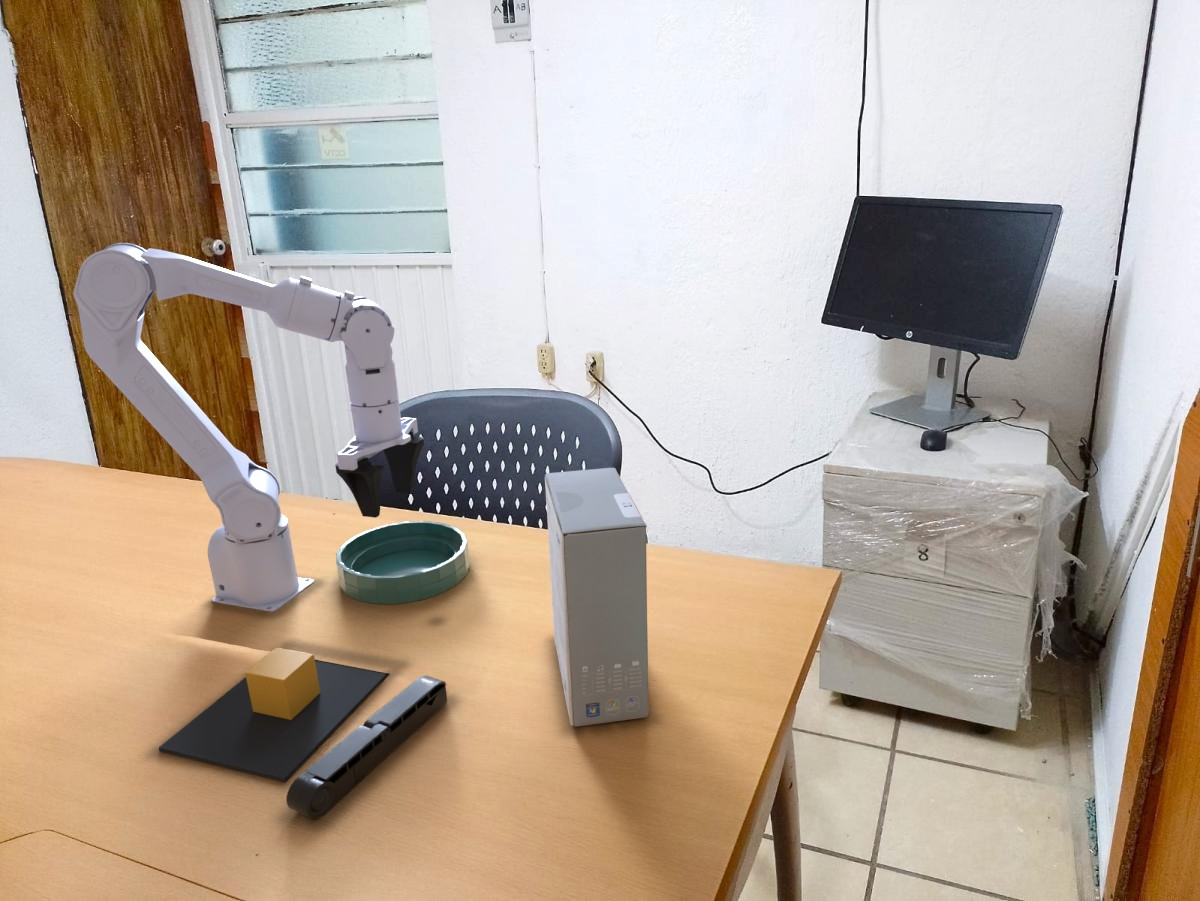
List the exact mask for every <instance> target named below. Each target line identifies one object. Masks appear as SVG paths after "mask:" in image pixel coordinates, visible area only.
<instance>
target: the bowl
mask: <svg viewBox="0 0 1200 901" xmlns="http://www.w3.org/2000/svg"><path fill="white" fill-rule="evenodd" d="M468 543H469V542H468V538H467V536H466V534H465V533H464V532H463V531H462V530H460V529H459V528H458V527H456V526H453V525H450V524H447V523H444V522H438V521H430V520H411V521H410V520H409V521H400V522H394V523H388V524H385V525H381V526H377V527H374V528H370V529H368V530H365V531H363V532H361V533H358V534H356V535H354V536H353V537H351V538H350V539H348V540H347V541H345V543H343V544H342V545H341V546H340V548H339V549H338V550H337V552H336V555H335V562H336V570H337V575H338V581H339V582H338V583H339V587H340V589H341V590H342V591H343V592H344V594H345V595H346V596H348V597H350V598H353V599H354V600H357V601H358V602H363V603H370V604H377V605H401V604H406V603H407V604H408V603H413V602H417V601H423V600H425V599H428V598H429V599H430V598H431V597H434V596H438V595H440V594H443V593H445V592H446V591H448V590H450V589H452V588H453V587H455V586H457V585H458V584H459V583H461V581H462V580H463V579H464V578H466V576H467V575H468V572H469V569H470V566H471V563H470V556H469V555H470V553H469V544H468Z"/></svg>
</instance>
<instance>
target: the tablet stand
mask: <svg viewBox="0 0 1200 901" xmlns="http://www.w3.org/2000/svg"><path fill="white" fill-rule="evenodd" d="M446 686H447V683H446V681H444V680H441V679H438V678H434V677H432V676H429V675H421V676H419V677H417V678H416V679H415V680H413V681H412V682H411V683H410V684H409V685H408V686H407V687H405V688H404V689H403V690H401V691H400V692H399V693H398V694H396V695H395V696H394V697H393V698H391V699H390V700H389V701H387V703H386V704H384V705H383V706H382V707H381V708H379V709H378V710H377V711H376V712H375V713H373V714H372V715H371V716H370V717H368V718H367V719H366V720H365V721H364V722H363V725H362V724H361V725H359V726H358V727H357V728H355V729H353V731H351V732H350V733H349V734H348V735H346V736H345V737H344V738H343V739H342V740H341V741H339V742H338V743H337V744H336V745H334V746H333V747H332V748H331V749H330V750H329V751H327V752H326V753H325V754H324V755H323V756H321V757H320V758H319V759H318V760H317V761H316V762H314V763H313V764H312V765H311V766H309V767H308V768H307V769H306V770H305V771H303V772H302V773H301V774H300V775H298V776H297V777H296V778H295V779H294V780H293V782H292V783H291V785H290V786H289V788H288V791H287V793H286V799H285V800H286V805H287V807H288V808H289V809H290V810H292V811H294V812H296V813H298V814H301V815H303V816H305V817H307V818H309V819H312V820H319V819H321V818H323V817H325V815H326V814H327V813H328V812H329V811H330V810H331V809H332V808H333V807H334V806H336V805H337V804H338V803H339V802H340V801H342V799H344V797H346V796H347V795H348V794H349V793H350V792H351V791H352V790H353V789H355V787H357V785H359V784H360V783H361V782H362V781H364V779H366V776H367V775H368V774H370V773H371V772H372V771H373V769H375V768H376V767H377V766H378V765H379V764H380V763H382V762H383V761H384V760H385V759H386V758H387V757H388V756H389V755H390V754H392V753H393V752H394V751H395V750H396V749H398V747H399V746H401V745H402V744H403V743H404V742H405V741H407V739H409V738H410V737H411V736H412V735H414V733H416V731H417V730H418V729H420V728H421V727H422V726H423V725H424V724H425V723H426V722H427V721H429V720H430V719H431V718H432V717H433V716H434V715H435V714H436V713H438V712H439V711H440V710H441V709H442V708H443V707H444V706H445V705H446V704H448V694H447V687H446Z"/></svg>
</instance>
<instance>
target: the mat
mask: <svg viewBox="0 0 1200 901" xmlns="http://www.w3.org/2000/svg"><path fill="white" fill-rule="evenodd" d="M315 664H316V670H317V676H318V682H319V687H320V693H319V694H318V695H317V696H316V697H315V698H314V699H313V700H312V701H311V702H310V703H309V704H308V705H307V706H306V707H305V708H303V709H302V710H301V711H300V712H299V713H298V714H297V715H296V716H295V717H294V718H293V719H292V720H289V719H284V718H280V717H275V716H271V715H266V714H261V713H257V712H253V708H252V703H251V699H250V694H249V689H248V684H247V679H246V676H245V677H244V678H243V679H241V680H240V681H238V682H237V683H236V684H235V685H234V686H232V687H231V688H230V689H229V690H227V691H226V692H225V693H224V694H222V696H220V697H219V698H218V699H216V700H215V701H214V702H213V703H211V704H210V705H209V706H208V707H206V708H205V709H203V711H202V712H200V713H199V714H198V715H196V717H194V718H193V719H192V720H191V721H188V723H187V724H185V725H184V726H183V727H181V729H179V730H178V731H177V732H176V733H174V734H173V735H172V736H170V737H169V738H168V739H167V740H166V741H164V742H163V743H162V744H160V745H159V746H158V751H159V752H162V753H166V754H169V755H173V756H178V757H182V758H185V759H190V760H193V761H197V762H202V763H206V764H210V765H213V766H214V765H215V766H218V767H223V768H225V769H230V770H234V771H238V772H241V773H247V774H251V775H255V776H258V777H262V778H266V779H271V780H275V781H279V782H283V783H285V782H287V780H289V779H290V778H291V777H292V775H294V774H295V772H296V771H297V770H298V769H299V768H300V767H301V766H302V765H303V764H304V763H305V762H306V761H307V760H308V759H309V758H310V757H311V756H312V755H313V754H314V753H315V752H316V751H317V750H318V749H319V748H320V747H321V745H323V743H325V741H326V740H328V738H330V736H332V734H333V733H334V732H335V731H336V730H337V729H338V728H339V727H340V726H341V725H342V724H343V723H344V722H345V721H346V720H347V719H348V718H349V717H350V716H351V715H352V714H353V713H354V711H356V709H357V708H358V707H360V705H361V704H363V703H364V701H366V699H368V697H369V696H370V695H371V694H372V693H373V692H374V691H375V690H376V689H377V688H378V687H379V686H380V685H381V684H382V683H383V682H384V681H385V680H386V679H387V678H388V677H389V676H390V673H389V672H383V671H378V670H373V669H367V668H364V667H363V668H362V667H357V666H352V665H346V664H341V663H336V662H330V661H326V660H320V659H315Z"/></svg>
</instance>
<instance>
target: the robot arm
mask: <svg viewBox="0 0 1200 901" xmlns="http://www.w3.org/2000/svg"><path fill="white" fill-rule="evenodd" d="M155 292H156V300H157V301H158V302H160V301H164V300H168V299H173V298H176V297H180V296H183V295H195V296H199V297H203V298H207V299H211V300H214V301H215V300H216V301H220V302H224V303H228V304H232V305H236V306H240V307H243V308H248V309H251V310H256V311H260V312H264V313H266V314H267V315H268V316H269V318H270V319H271V321H272V323H273V324H274V326H275V327H276V328H280V329H282V330H287V331H289V332H293V333H297V334H301V335H304V336H308V337H312V338H315V339H318V340H321V341H322V340H323V341H325V342H329V343H334V342H339V341H340V342H343V344H344V352H345V358H346V364H345V365H344V366H345V367H344V368H345V373H346V381H347V382H346V384H347V390H348V398H349V404H350V411H351V417H352V425H353V431H354V436H353V438H352V439H351V440H350V441H349V442H348V443H347V445H346V446H345V447H344V448H343V449H342V450H340V451H339V452H338V453H336V457H337V463H335V465H334V466H335V473H336V474H337V475H338V476H339V477H340V479H342V481H343V482H344V483H345V484H346V486H347V487H348V489H349V490H350V492H351V494H352V496H353V498H354V499H355V502H356V504H357V506H358V508H359V511H360V513H361V515H362V517H367V518H375V519H376V518H378V517H379V516H380V514H381V493H380V491H381V479H382V475H383V472H384V468H385V466H384V465H380V464H373V462H372V461H370V460H369V459H370V458H372V457H373V456H375V455H377V454H378V453H380V452H383V453H384V456H385V459H386V460H387V464H388V467H389V471H390V475H391V480H392V485H393V488H394V491H395V493H396V494H405V495H410V494H412V493H413V489H414V483H415V475H416V469H417V464H418V461H419V457H420V454H421V452H422V449H423V447H424V445H425V441H424V440H425V439H424V437H422V436H418V435H417V436H415V435H416V434H418V433H419V429H418V419H417V418H416V417H402V416H401V408H400V407H401V406H400V399H399V390H398V389H399V388H398V381H397V372H396V365H395V364H396V363H395V361H394V360H393V348H392V346H391V344H392V343H393V340H394V336H395V327H394V326H393V325H392V321H391V319H390V317H389V315H388V314H387V313H386V312H385V310H384V309H383V308H382V307H381V306H380V305H379V304H378V303H376V302H375V301H372V300H370V299H368V298H367V297H366V296H355V293H354V292H351V291H348V290H345V292H344V293H341V292H337V291H334V290H331V289H328V288H324V287H320V286H318V285H315V284H313V279H312V278H310V277H306V276H303V275H301V276H300V277H299V279H294V278H292V277H288V278H285V279H284V280H281V281H280V282H278V283H275V284H272V283H269V282H265V281H263V280H260V279H256V278H253V277H251V276H247V275H244V274H242V273H238V272H236V271H233V270H229V269H227V268H223V267H221V266H218V265H215V264H211V263H208V262H205V261H202V260H200V259H196V258H192V257H191V256H188V255H184V254H179V253H176V252H173V251H172V252H171V251H168V250H163V249H157V248H151V247H150V248H147V249H145V248H143V247H142V246H140V245H137V244H135V243H130V242H118V243H117V242H116V243H113V244H111V245H107V247H105V248H104V249H102V250H98V251H95V252H94V253H92V254H90V255H89V256H88V257H86V259H85V260H84V261H83V262H82V264H81V265H80V268H79V270H78V274H77V278H76V282H75V285H74V288H73V292H72V295H73V297H74V300H75V303H76V305H77V309H78V310H77V311H78V315H79V322H80V328H81V334H82V340H83V347H84V351H85V352H86V354H87V355H88V357H89V358H90V359H91V360H92V361H93V362H94V364H95V365H96V366H97V367H98V368H99V369H100V370H101V371H102V372H103V373H104V374H105V376H106V377H107V378H108V379H109V380H110V381H111V382H112V383H113V385H115V386H116V388H117V389H118V390H119V391H120V392H121V393H122V394H123V395H124V396H125V398H126V399H127V400H128V401H129V402H130V403H131V404H132V405H133V406H134V407H135V409H137V411H138V412H139V413H140V414H141V416H143V417H144V418H145V420H146V421H148V423H149V424H150V425H151V426H152V428H154V429H155V430H156V431H157V433H159V435H160V436H161V437H162V439H164V441H165V442H166V443H168V444H169V446H170V447H171V448H172V449H173V450H174V451H175V452H176V453H177V455H179V457H180V458H181V459H182V460H183V461H184V462H185V463H186V465H187V466H188V467H189V468H190V469H191V470H192V471H193V472H194V473H195V474H196V475H197V477H199V479H200V480H201V483H202V484H203V487H204V489H205V491H206V493H207V496H208V498H209V499H210V501H211V502H212V503H213V505H215V507H216V509H218V511H219V514H220V518H221V523H222V525H221V526H219V527H218V528H216V530H215V531H214V532H213V533H212V534H211V536H210V539H209V541H208V545H207V559H208V564H209V568H210V573H211V577H212V583H213V587H214V592H215V596H214V597H212V598H211V602H212V603H218V604H223V605H229V606H235V607H241V608H246V609H253V610H258V611H265V612H269V613H272V612H276V611H277V610H279V609H280V608H282V607H283V606H284V605H285V604H287V603H288V602H289V601H291V600H293V599H294V598H295V597H296V596H298V595H299V594H300V593H302V592H303V591H304V590H306V589H307V588H309V586H311V585H313V584H314V583H315V579H312V578H308V577H300V576H299V575H298V569H297V564H296V559H295V553H294V547H293V540H292V536H291V530H290V524H289V520H288V518H287V517H286V516H285V515H284V514H283V513H282V512H281V506H280V503H279V502H280V499H279V498H280V494H281V486H280V483H279V479H278V477H276V475H275V474H274V473H273V472H272V471H270V470H269V469H267V468H265V467H262V466H260V465H258V464H256V463H255V462H254V461H252V460H251V459H250V457H249V456H248V455H247V454H246V453H245V452H243V451H241V450H239V449H237V448H236V447H234V446H233V444H232V443H231V442H230V441H229V440H228V438H226V437H225V436H224V434H223V433H222V432H221V431H220V429H219V428H218V427H217V425H215V424H214V423H213V421H212V420H211V419H210V418H209V417H208V416H207V414H206V413H205V412H204V411H203V410H202V409H201V408H200V407H199V406H198V404H197V403H196V402H195V401H194V399H193V398H192V397H191V396H190V395H189V393H187V391H185V389H184V388H183V387H182V386H181V384H179V383H178V381H177V380H176V379H175V378H174V377H173V376H172V374H171V373H170V372H169V371H168V370H167V368H166V367H165V366H164V365H163V364H162V363H161V361H159V359H158V358H157V357H156V356H155V355H154V354H153V353H152V351H151V350H150V349H149V348H148V347H147V345H146V344H145V343H144V342H143V341H142V339H141V335H142V330H143V325H144V320H145V314H146V312H145V310H146V308H147V306H148V304H149V303H150V301H151V299H152V297H153V296H154V294H155Z"/></svg>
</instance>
